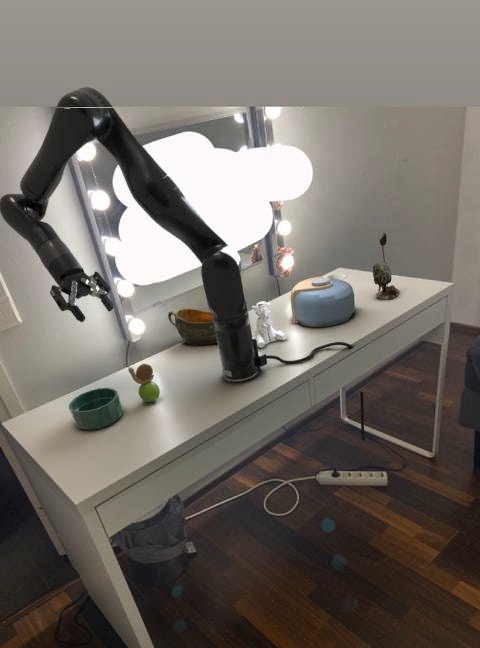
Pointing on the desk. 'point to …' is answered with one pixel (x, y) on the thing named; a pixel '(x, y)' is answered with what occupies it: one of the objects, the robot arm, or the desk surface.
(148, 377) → the snail figurine
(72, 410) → the bowl
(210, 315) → the cup
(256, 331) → the seated beast figurine
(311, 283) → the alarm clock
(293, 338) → the desk surface
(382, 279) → the plant with pod
